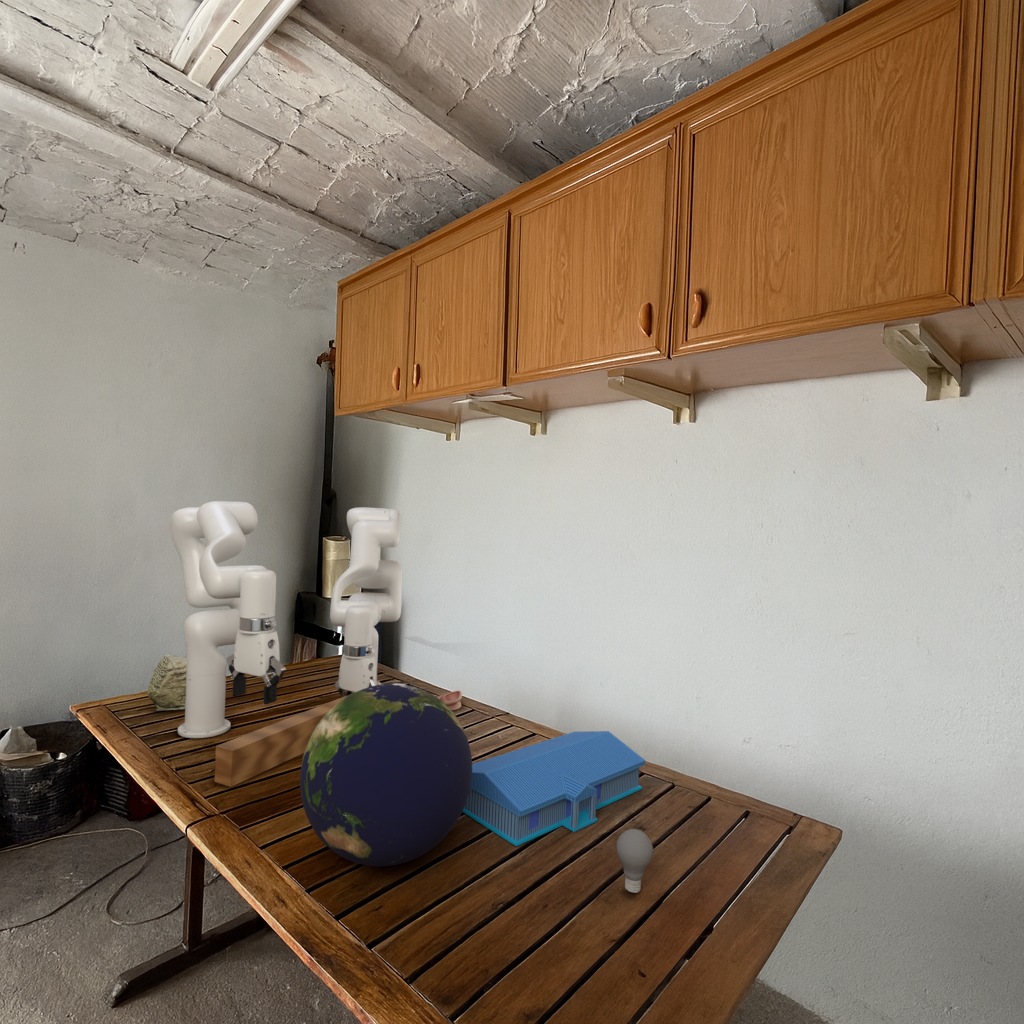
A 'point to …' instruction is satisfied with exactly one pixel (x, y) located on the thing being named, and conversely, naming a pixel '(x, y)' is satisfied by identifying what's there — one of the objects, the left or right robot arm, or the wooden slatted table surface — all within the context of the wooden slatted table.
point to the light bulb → (634, 857)
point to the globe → (386, 775)
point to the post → (267, 746)
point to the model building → (552, 784)
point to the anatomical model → (451, 699)
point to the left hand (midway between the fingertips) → (254, 698)
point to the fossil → (169, 683)
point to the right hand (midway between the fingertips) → (355, 714)
